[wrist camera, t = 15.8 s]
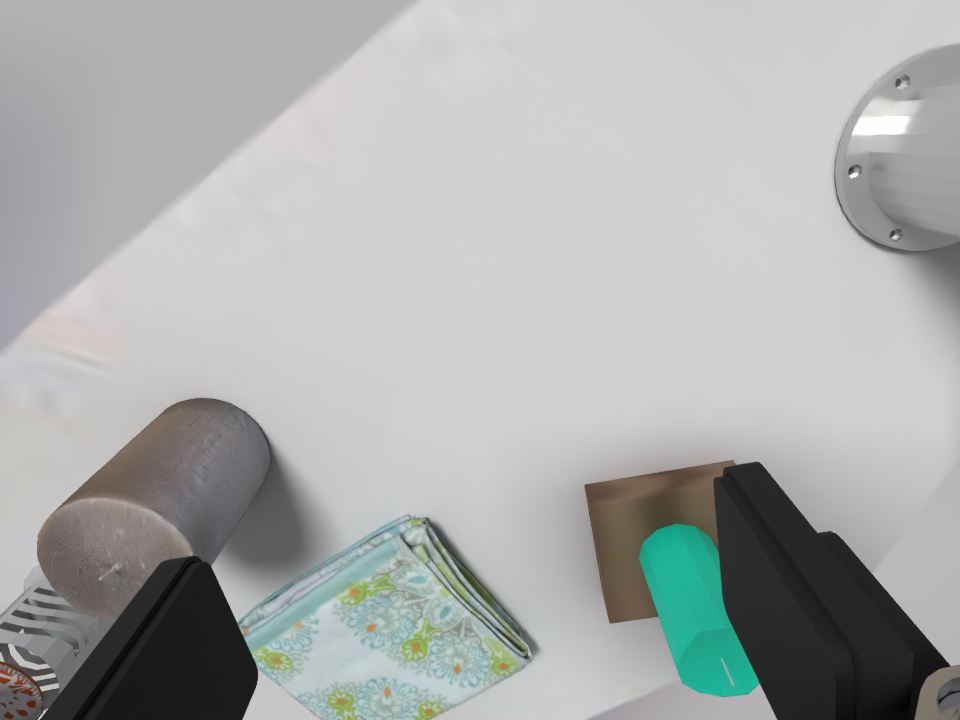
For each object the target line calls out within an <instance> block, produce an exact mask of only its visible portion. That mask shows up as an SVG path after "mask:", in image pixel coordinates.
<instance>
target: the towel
mask: <svg viewBox="0 0 960 720" xmlns="http://www.w3.org/2000/svg"><path fill="white" fill-rule="evenodd" d="M237 624H238V626H239V628H240V630H241V632H242V635H243V637H244V639H245V641H246V643H247V645H248V648H249V650H250V652H251V654H252V656H253V658H254V661H255V663H256V665H257V669H258V670H259V671H261V672H262V673H263V674H265V675H266V676H267V677H268V678H270V679H271V680H272V681H274V682H275V683H276V684H277V685H279V686H280V687H281V688H282V689H283V690H285V691H286V692H287V693H289V694H290V695H291V696H292V697H293V698H295V699H296V700H297V701H298V702H299V703H300V704H302V705H303V706H304V707H305V708H307V709H308V710H309V711H310V712H311V713H313V714H314V715H315V716H317V717H318V718H319V719H321V720H429V719H431V718H434V717H436V716H437V715H440V714H442V713H444V712H446V711H448V710H449V709H451V708H453V707H456V706H458V705H460V704H462V703H464V702H466V701H467V700H469V699H471V698H473V697H474V696H476V695H478V694H480V693H482V692H483V691H485V690H487V689H488V688H490V687H492V686H494V685H496V684H498V683H499V682H501V681H503V680H505V679H506V678H508V677H510V676H512V675H514V674H515V673H517V672H519V671H520V670H522V669H523V668H525V666H526V665H527V664H528V663H530V662H531V661H532V660H533V655H532V654H531V652H530V648H529V646H528V645H527V644H526V643H525V641H524V639H523V636H522V630H521V629H520V627H519V626H518V625H516V624H515V623H514V621H513V620H512V619H511V618H510V617H509V616H508V615H507V614H506V613H505V612H504V611H503V610H502V609H501V607H500V606H499V605H498V604H497V603H496V602H495V601H494V599H493V598H492V597H491V596H490V595H489V594H488V593H487V591H486V590H485V589H484V588H483V587H482V586H481V585H480V584H479V582H478V581H477V580H476V579H475V578H474V577H473V576H472V575H471V574H470V573H469V572H468V571H467V570H466V569H465V568H464V567H463V566H462V565H461V564H460V563H459V562H458V561H457V560H456V559H455V558H454V557H453V556H452V555H451V554H450V553H449V552H448V551H447V549H446V548H445V547H444V546H443V545H442V544H441V542H440V541H439V539H438V537H437V536H436V534H435V532H434V530H433V528H432V526H431V525H430V524H429V523H428V522H427V520H426V519H425V518H422V519H415V516H410V515H405V516H402V517H401V518H399V519H397V520H394V521H392V522H390V523H388V524H386V525H385V526H383V527H381V528H379V529H378V530H376V531H374V532H373V533H371V534H369V535H368V536H366V537H365V538H363V539H362V540H360V541H358V542H357V543H355V544H353V545H352V546H350V547H349V548H347V549H346V550H344V551H343V552H341V553H339V554H337V555H336V556H334V557H332V558H331V559H329V560H327V561H326V562H324V563H322V564H321V565H319V566H317V567H316V568H314V569H312V570H311V571H309V572H307V573H305V574H304V575H302V576H301V577H299V578H298V579H296V580H295V581H293V582H291V583H289V584H288V585H286V586H284V587H283V588H281V589H280V590H278V591H277V592H275V593H274V594H272V595H271V596H269V597H268V598H267V599H265V600H264V601H263V602H261V603H260V604H258V605H257V606H256V607H254V608H253V609H252V610H251V611H250V612H249V613H248V614H246V615H245V616H244V617H243V618H241V619H240V620H239V621H238V622H237Z"/></svg>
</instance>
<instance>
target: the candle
mask: <svg viewBox="0 0 960 720" xmlns="http://www.w3.org/2000/svg"><path fill="white" fill-rule="evenodd" d="M639 560H640V563H641V566H642V569H643V572H644V575H645V578H646V581H647V584H648V586H649V589H650V592H651V595H652V598H653V601H654V604H655V607H656V610H657V613H658V616H659V619H660V621H661V624H662V627H663V630H664V633H665V636H666V639H667V642H668V645H669V648H670V651H671V654H672V656H673V659H674V662H675V665H676V668H677V671H678V673H679V676H680V678H681V681H682V683H683V684H685V685H687V686H688V687H690V688H692V689H694V690H696V691H697V692H700V693H705V694H710V695H715V696H720V697H728V696H737V695H747V694H749V693H750V692H751V691H752V690H753V689H754V688H755V687H756V686H758V685H759V684H760V683H759V681H758V678H757V676H756V674H755V672H754V670H753V668H752V666H751V664H750V662H749V660H748V658H747V656H746V654H745V652H744V650H743V648H742V645H741V643H740V641H739V639H738V637H737V635H736V633H735V631H734V629H733V627H732V625H731V623H730V621H729V618H728V616H727V613H726V610H725V607H724V602H723V597H722V585H721V573H720V560H719V553H718V551H717V549H716V547H715V545H714V544H713V542H712V540H711V538H710V536H708V535H707V534H706V533H704V532H703V531H701V530H700V529H699V528H697V527H696V526H690V525H681V524H674V525H671V526H668V527H665V528H661V529H658V530H656V531H655V532H654V533H653V534H652V535H651V536H650V537H649V538H648V539H647V540H645V541H644V542H643V545H642V549H641V552H640V556H639Z"/></svg>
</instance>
